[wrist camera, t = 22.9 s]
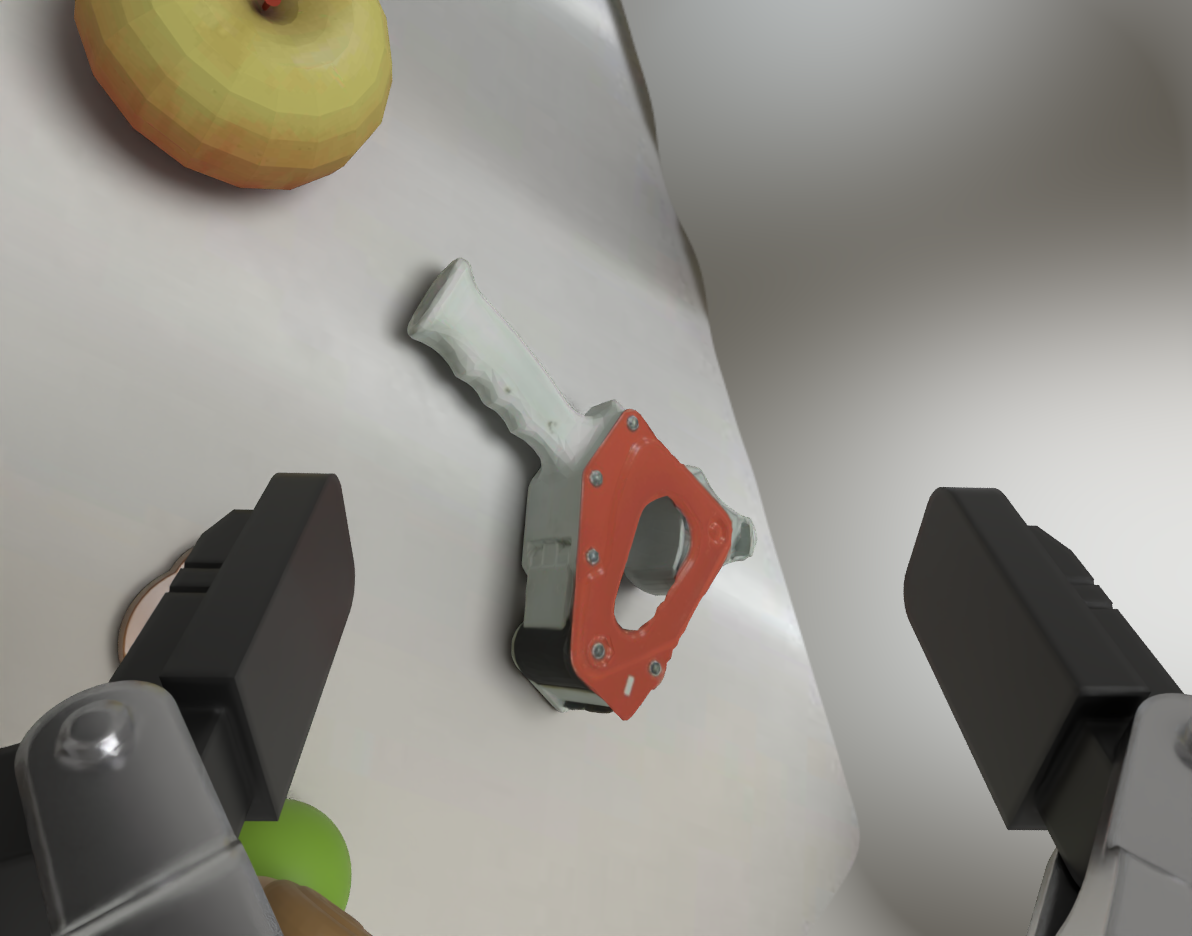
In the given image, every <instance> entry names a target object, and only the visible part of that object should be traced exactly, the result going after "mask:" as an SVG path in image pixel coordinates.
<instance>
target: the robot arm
mask: <svg viewBox="0 0 1192 936" xmlns="http://www.w3.org/2000/svg"><path fill="white" fill-rule="evenodd" d="M354 586H355V568H354V560H353V554H352V548H351V542H350V536H349V530H348V524H347V518H346V512H345V506H344V500H343V494H342V489H341V484H340V481H339V479H338V477H337V476H336V475H335V474H320V473H276V474H275V475H274V476H273V477H272V478H271V480H270V482H269V484H268V485H267V487H266V489H265V491H264V492H263V494H262V496H261V498H260V499H259V501H258V503H257V505H256V506H255V508H254V510H235V509H234V510H233V511H231V512H230V513H229V514H227V515H226V516H225V517H224V518H222V519H221V520H220V521H218V522H217V523H216V524H214V525H213V526H212V527H211V528H209V529H208V530H207V531H205V532H204V533H203V534H202V535H201V537H200V538H199V540H198V541H197V543H196V545H195V546H194V548H193V549H192V551H191V552H190V554H189V556H188V557H187V559H186V560H185V562H184V568H180V570H179V572H178V573H177V575H176V576H175V578H174V579H173V581H172V583H171V584H170V586H169V588H170V589H169V592H165V594H164V595H163V597H162V598H161V600H160V602H159V603H158V605H157V606H156V608H155V610H154V611H153V613H152V614H151V616H150V618H149V619H148V621H147V622H146V624H145V625H144V627H143V629H142V630H141V632H140V633H139V635H138V637H137V638H136V640H135V641H134V643H133V644H132V646H131V648H130V649H129V651H128V652H127V654H126V656H125V657H124V659H123V660H122V662H121V664H120V665H119V667H118V668H117V670H116V671H115V673H114V675H113V676H112V678H111V679H110V681H109V683H106V684H102V685H98V686H95V687H92V688H89V689H87V690H84V691H82V692H80V693H77V694H75V695H73V696H71V697H69V698H68V699H66V700H64V701H62V702H61V703H59V704H58V705H56V706H55V707H53V708H52V709H51V710H49V711H48V712H47V713H45V714H44V715H43V716H42V717H41V718H40V719H39V720H38V721H37V722H36V723H35V724H34V725H33V726H32V727H31V729H30V730H29V731H28V732H27V733H26V735H25V737H24V738H23V740H22V741H21V743H19V744H15V745H12V746H8V747H4V748H0V936H284V935H283V933H282V931H281V928H280V926H279V924H278V922H277V919H276V917H275V915H274V913H273V911H272V908H271V906H270V904H269V902H268V899H267V897H266V895H265V893H264V890H263V888H262V886H261V884H260V882H259V879H258V877H257V875H256V873H255V870H254V868H253V866H252V864H251V862H250V859H249V857H248V855H247V853H246V851H245V849H244V847H243V845H242V843H241V841H240V840H239V839H238V837H239V835H240V832H241V829H242V827H243V824H244V822H245V821H278V820H279V817H280V814H281V811H282V808H283V805H284V802H285V800H286V797H287V794H288V791H289V788H290V785H291V782H292V779H293V776H294V773H295V770H296V767H297V764H298V762H299V759H300V756H301V753H302V750H303V747H304V744H305V741H306V738H307V735H308V732H309V729H310V726H311V724H312V721H313V718H314V715H315V712H316V709H317V706H318V703H319V700H320V697H321V694H322V691H323V689H324V686H325V683H326V680H327V677H328V674H329V671H330V668H331V665H332V662H333V659H334V656H335V653H336V651H337V648H338V645H339V642H340V639H341V636H342V633H343V630H344V627H345V624H346V621H347V618H348V615H349V613H350V609H351V606H352V601H353V595H354ZM904 602H905V609H906V613H907V616H908V619H909V621H910V624H911V626H912V628H913V630H914V632H915V634H916V636H917V638H918V641H919V642H920V645H921V647H922V649H923V651H924V653H925V655H926V657H927V660H928V662H929V664H930V666H931V668H932V670H933V672H934V674H935V677H936V679H937V681H938V683H939V685H940V687H941V689H942V691H943V694H944V696H945V698H946V700H947V702H948V704H949V706H950V708H951V711H952V713H953V715H954V717H955V719H956V721H957V723H958V725H959V728H960V729H961V732H962V734H963V736H964V738H965V740H966V742H967V744H968V746H969V749H970V750H971V753H972V755H973V757H974V759H975V761H976V764H977V766H978V768H979V770H980V772H981V774H982V776H983V778H984V781H985V783H986V785H987V787H988V789H989V791H990V793H991V795H992V798H993V800H994V802H995V804H996V806H997V808H998V810H999V812H1000V814H1001V817H1002V819H1003V821H1004V823H1005V825H1006V827H1007V829H1008V830H1048V831H1049V834H1050V835H1051V837H1052V839H1053V841H1054V843H1055V845H1056V849H1055V850H1054V852H1053V853H1052V855H1051V857H1050V859H1049V861H1048V864H1047V866H1046V869H1045V873H1044V876H1043V880H1042V883H1041V887H1040V890H1039V894H1038V897H1037V900H1036V904H1035V907H1034V911H1033V914H1032V918H1031V921H1030V925H1029V928H1028V932H1027V935H1026V936H1192V695H1187V694H1184V693H1183V692H1182V691H1181V690H1180V688H1179V687H1178V686H1177V685H1176V683H1175V682H1174V680H1173V679H1172V678H1171V677H1170V675H1169V674H1168V673H1167V672H1166V670H1165V669H1164V668H1163V666H1162V665H1161V664H1160V663H1159V661H1158V660H1157V659H1156V658H1155V656H1154V655H1153V654H1152V653H1151V651H1150V650H1149V649H1148V648H1147V646H1146V645H1145V644H1144V642H1143V641H1142V640H1141V639H1140V637H1139V636H1138V635H1137V633H1136V632H1135V631H1134V630H1133V628H1132V627H1131V626H1130V625H1129V623H1128V622H1127V621H1126V619H1125V618H1124V617H1123V616H1122V614H1121V613H1120V612H1119V610H1118V609H1113V608H1112V604H1113V603H1112V602H1111V600H1110V599H1109V598H1108V596H1107V595H1106V594H1105V593H1104V591H1103V590H1102V589H1101V588H1100V586H1099V585H1094V579H1093V577H1092V576H1091V575H1090V574H1089V572H1088V571H1087V570H1086V569H1085V567H1084V566H1083V565H1082V564H1081V562H1080V561H1079V560H1078V558H1077V557H1076V556H1075V555H1074V553H1073V552H1072V551H1071V550H1070V549H1068V548H1067V547H1066V546H1064V545H1063V544H1061V543H1060V542H1059V541H1057V540H1056V539H1054V538H1053V537H1052V536H1050V535H1049V534H1047V533H1046V532H1045V531H1043V530H1042V529H1040V528H1039V527H1038V526H1027V524H1026V523H1025V522H1024V520H1023V519H1022V518H1021V517H1020V515H1019V514H1018V512H1017V511H1016V510H1015V508H1014V507H1013V506H1012V504H1011V503H1010V502H1009V500H1008V499H1007V497H1006V496H1005V495H1004V494H1003V493H1002V492H1001V491H1000V490H998V489H996V488H955V487H954V488H953V487H939V488H937V489H936V490H935V491H934V492H933V493H932V495H931V497H930V499H929V501H928V504H927V507H926V510H925V513H924V517H923V520H922V523H921V526H920V529H919V533H918V536H917V539H916V542H915V545H914V548H913V552H912V555H911V558H910V561H909V564H908V567H907V571H906V575H905V580H904Z"/></svg>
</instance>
